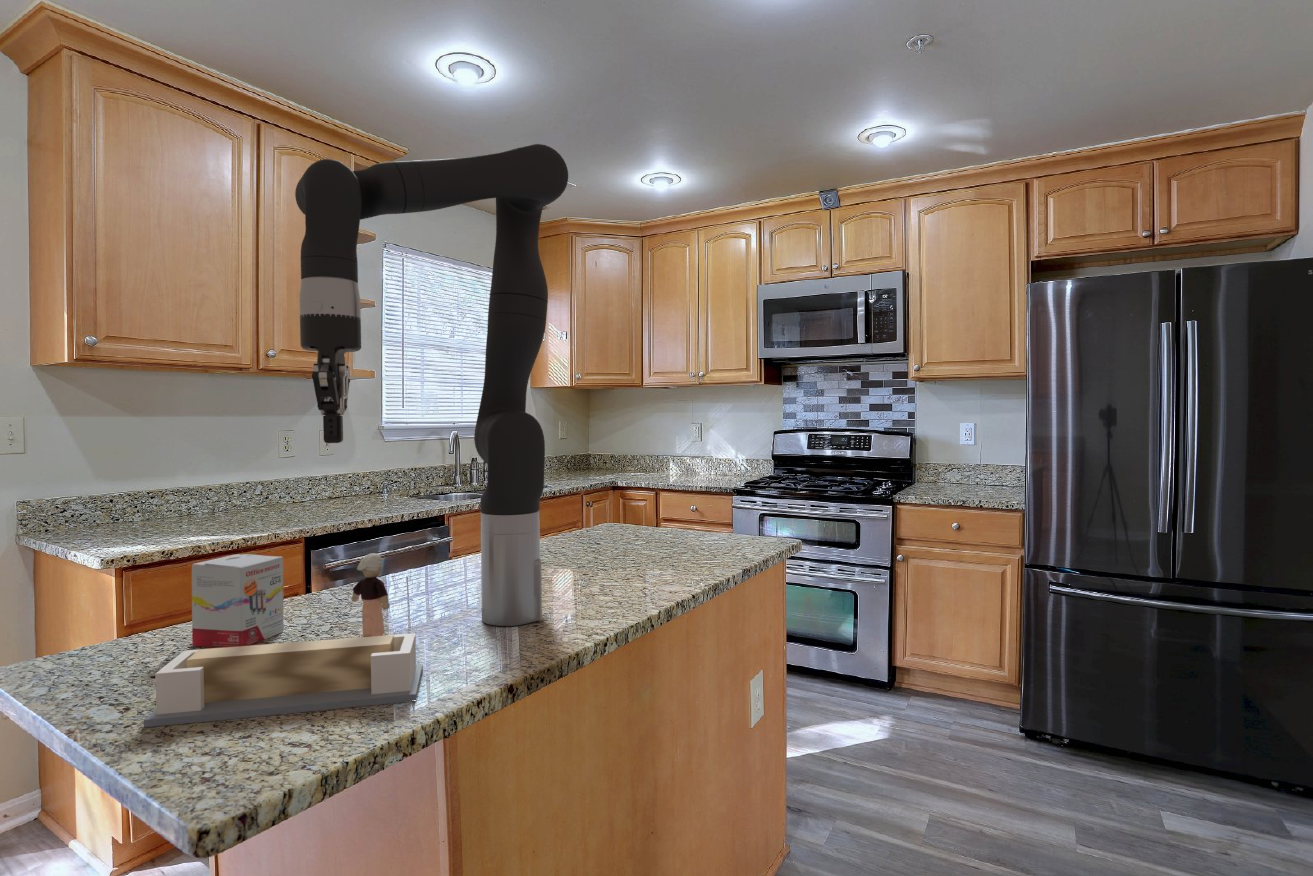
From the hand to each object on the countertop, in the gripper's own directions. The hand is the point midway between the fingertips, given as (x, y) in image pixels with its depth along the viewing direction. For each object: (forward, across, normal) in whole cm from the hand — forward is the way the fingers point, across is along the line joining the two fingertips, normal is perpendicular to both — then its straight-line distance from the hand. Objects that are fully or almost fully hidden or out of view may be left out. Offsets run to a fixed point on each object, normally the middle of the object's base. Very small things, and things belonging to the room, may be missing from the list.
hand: (333, 442), depth 96 cm
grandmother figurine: (+29, +4, -4) cm, 30 cm away
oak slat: (+28, -16, +2) cm, 32 cm away
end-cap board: (+29, -16, +2) cm, 33 cm away
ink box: (+29, +10, +15) cm, 34 cm away
